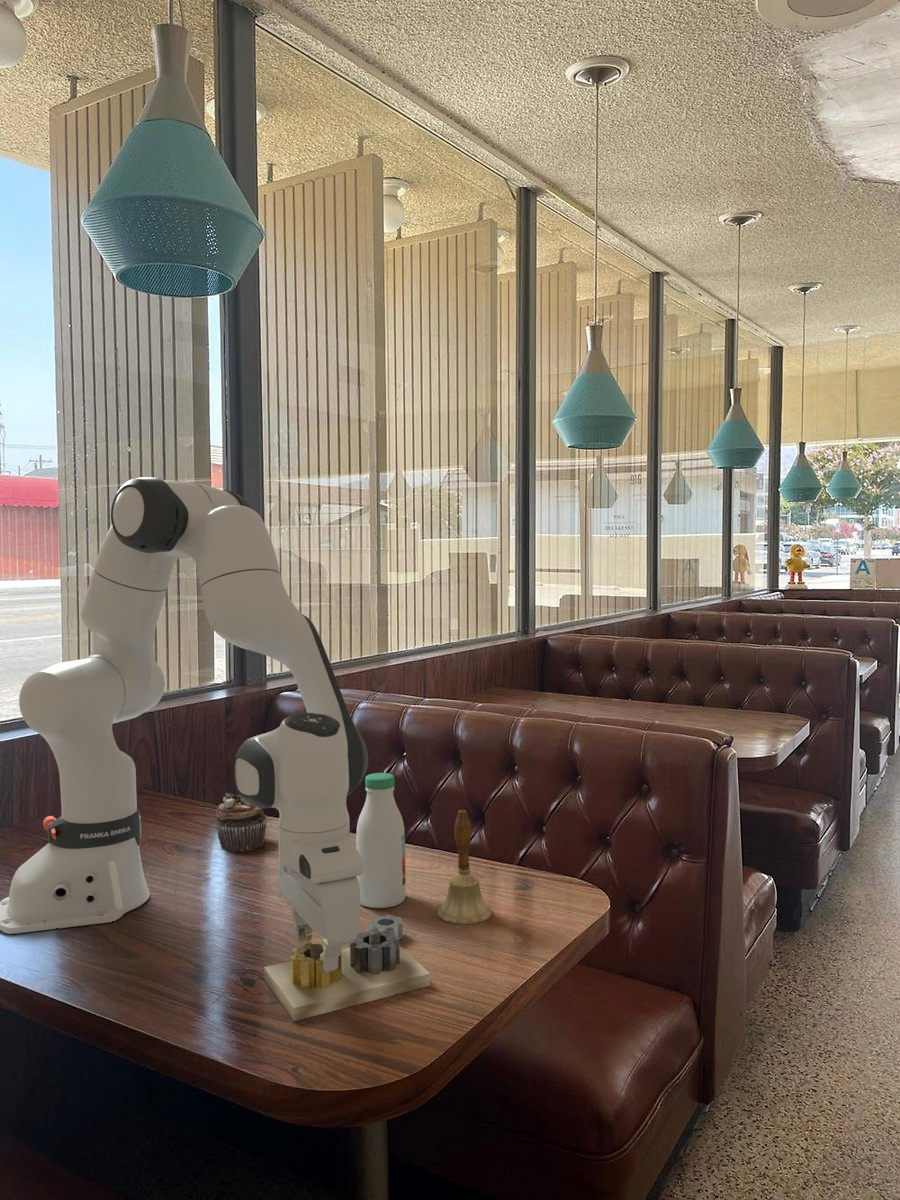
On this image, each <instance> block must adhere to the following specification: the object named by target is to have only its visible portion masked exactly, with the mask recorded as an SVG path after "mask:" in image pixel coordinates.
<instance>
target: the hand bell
mask: <svg viewBox="0 0 900 1200" xmlns="http://www.w3.org/2000/svg"><path fill="white" fill-rule="evenodd" d="M454 841H455V843H456V844H455V845H456V847H457V851H458V852H457V853H458V859H457V861H458V863H457V864H458V866H457V867H458V873H457V874H455V875H453V876H451V878H450V879H449V885H448V891H447V892H448V893H447V895H446V899H445V901H444V902H443V903H442V904H441V905H440V906H439V907H438V910H437V913H436V914H437V916H438V918H439V919H441V920H442V921H444V922H446V923H449V924H454V925H474V924H479V923H483V922H484V921H485V922H486V920H488V919H490V917H492V913H493V911H492V909H491V907H490V906H489V905H488V904H487V903H486V902H485V900H484V898H483V895H482V892H481V888H480V880H479V878H478V877H477V876H476V875H474V874H471V869H470V856H469V851H470V850H469V849H470V846H471V843H472V842H471V841H472V825H471V821H470V818H469V816H468V812H467V810H466V809H459V810H458V811H457V816H456V819H455V823H454Z"/></svg>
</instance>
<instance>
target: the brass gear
mask: <svg viewBox="0 0 900 1200" xmlns="http://www.w3.org/2000/svg"><path fill="white" fill-rule="evenodd" d="M313 944H320V945H322V953H323V947H324V945H323V944H322V942H318V943H315V942H314V943H313V942H312V941H309V942H306V943H305V942H304V943H303V945H302V946H299V947H294V948H293V949H292V950H291V951H290V955H291V956H289V957H290V958H289V959H290V969H291V983H292V984H293V985H295V984H299V985H301V988H302V989H308V990H309V989H310V988H311V987H312V988H314V987H315V986H316V987H320V988H321V989H323V988H327V987H329V984H330V983H333V982H339V981H340V980H341V973H342V958H341V950H340V952H339V955H338V968H337V969H336V970H333V971H328V972H326V971H325V970H324V969H323V968H322V966H321V965H320V962H321V960H320V957H319V958H311V948H310V947H311V945H313Z"/></svg>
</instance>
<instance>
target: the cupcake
mask: <svg viewBox="0 0 900 1200" xmlns="http://www.w3.org/2000/svg"><path fill="white" fill-rule="evenodd" d="M222 800H223V801H222V803H220V804H219V805H218V807H216V810H215V814H216V816H215V818H214V825H215V829H216V832H217V837H218V841H219V844H220V847H221V849H222V850H223V849H224V851H226V852H234V851H239V852H246V850H249V851H252V850H251V849H253V850H256V849H255V848H257V849H259V848H261V847H262V846H263V844H264V843H265V834H266V829H267V823H268V817H267V815H266V814H265V813H264V811H263V809H264V808H257V807H254V806H252V805H250V804H249V803H247V802H246V801H245V800H244V799H243V798H242V797H241V796H240V795H239V794H238V793H234V794H233V793H230V792H225V793H224V796H223V799H222ZM261 845H262V846H261ZM260 846H261V847H260ZM258 847H259V848H258Z"/></svg>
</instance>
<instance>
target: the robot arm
mask: <svg viewBox="0 0 900 1200" xmlns="http://www.w3.org/2000/svg"><path fill="white" fill-rule="evenodd" d="M110 521H111V524H110V527H109V529H108V530H107V533H106V535H105V536H104V539H103V541H102V544H101V547H100V549H99V551H98V554H97V557H96V560H95V562H94V566H93V570H92V573H91V577H90V580H89V583H88V586H87V590H86V593H85V597H84V599H83V604H82V607H81V611H80V615H81V620H82V622H83V624H84V625H85V626H86V628H87V629H88V630H89V631H90V632H91V633H92V638H93V639H92V640H93V641H92V642H93V643H92V650H91V652H90V654H89V655H88V657H86V658H81V659H74V660H68V661H61V662H57V663H55V664H52V665H50V666H48V667H44V668H43V669H40V670H39V671H36V672H34V673H32V674H31V675H29V676H28V677H27V678H26V679H25V681H24V682H23V684H22V686H21V689H20V693H19V699H18V703H19V704H18V705H19V711H20V714H21V716H22V718H23V720H24V722H25V723H26V725H27V726H28V727H29V729H31V730H32V731H33V732H35V733H37V734H39V735H40V736H41V737H42V738H43V739H44V740H45V741H46V743H47V744H48V747H50V749H51V751H52V754H53V755H54V759H55V762H56V764H57V768H58V774H59V775H58V776H59V783H60V803H61V816H59V817H57V818H55V816H53V815H49V816H46V817H45V818H44V819H43V822H42V824H43V828H44V830H45V831H47V839H48V843H47V844H45V845H44V846H43V847H42V848H41V849H40V850H38V851H37V852H36V853H35V854H34V855H32V856H31V857H30V858H29V859H28V860H26V861H25V862H23V863H22V864H21V865H20V866H19V867H18V868H17V869H16V871H15V873H14V875H13V877H12V880H11V884H10V886H9V887H10V888H9V892H8V893H9V895H8V896H6V897H5V898H3V899H1V901H0V930H2V931H3V933H5V934H10V935H11V934H23V933H30V932H39V931H46V930H54V929H56V928H57V929H64V928H65V929H66V928H72V927H79V926H80V927H81V926H82V927H83V926H89V925H90V926H91V925H97V924H107V923H112V921H113V922H115V921H117V920H119V919H120V918H122V917H123V916H124V914H126V913H128V912H130V911H132V910H134V909H136V908H139V907H140V906H142V905H143V904H144V903H145V902H147V900H149V899H150V896H151V893H150V890H149V887H148V885H147V884H148V883H147V881H146V878H145V874H144V870H143V864H142V858H141V853H140V845H141V839H142V825H141V824H142V822H141V815H140V810H139V809H138V807H137V805H138V804H137V803H138V802H137V774H136V773H137V771H136V764H135V761H134V760H133V758H132V757H131V756H130V755H129V754H127V753H126V752H124V751H122V750H120V748H119V747H118V745H117V743H116V739H115V736H114V733H113V732H114V731H113V724H118V723H120V722H124V721H129V720H131V719H132V720H133V719H135V718H137V717H139V716H141V715H142V714H144V713H147V712H148V711H149V710H151V709H153V708H154V707H155V706H157V705H158V703H159V702H160V701H161V699H162V697H163V695H164V692H165V687H166V686H165V685H166V684H165V682H166V681H165V676H164V673H163V672H164V671H163V670H162V668H161V667H160V665H159V663H158V662H157V661H156V660H155V653H154V648H155V646H154V643H155V642H154V641H155V639H154V638H155V633H156V629H157V628H156V627H157V623H158V619H159V617H160V614H161V610H162V606H163V603H164V599H165V596H166V593H167V590H168V587H169V583H170V579H171V575H172V572H173V568H174V566H175V564H176V562H177V561H178V560H179V559H189V558H190V559H193V560H194V562H195V565H196V568H197V576H198V583H199V590H200V595H201V601H202V606H203V610H204V613H205V616H206V618H207V619H206V620H207V622H208V624H209V626H210V627H211V629H212V630H213V631H214V632H215V633H216V634H217V635H218V636H219V637H220V638H222V639H224V640H225V641H226V642H228V643H230V644H231V645H234V646H236V647H239V648H241V649H243V650H248V651H251V652H254V653H258V654H262V655H264V656H266V657H269V658H271V659H274V660H276V661H277V662H279V663H280V664H282V665H283V666H285V667H286V668H287V669H288V671H290V672H291V674H292V675H293V677H294V680H295V682H296V684H297V688H298V690H299V691H298V692H299V693H300V696H301V699H302V702H303V704H304V707H305V709H306V711H307V712H299V713H294V714H292V715H289V716H287V717H286V718H284V719H283V720H282V721H281V722H280V725H279V727H277V728H275V729H274V730H271V731H267V732H266V733H261V734H256V735H255V736H252V737H248V738H247V739H246V740H245V741H243V743H242V744H241V745H240V747H239V748H238V749H237V752H236V754H235V757H234V759H233V765H232V774H233V784H234V788H235V791H236V794H239V795H240V796H241V797H242V798H243V799H244V800H245V801H246V802H247V803H249V804H250V805H252V806H254V807H257V808H262V809H270V808H273V809H276V810H277V811H278V812H279V818H278V824H277V825H278V829H277V831H278V833H277V834H278V838H277V839H278V867H277V868H278V871H277V872H278V874H277V879H278V880H277V883H278V884H277V885H278V890H279V894H280V896H281V897H283V899H284V900H285V901H286V902H287V903H288V904H289V906H290V909H291V910H290V911H291V915H292V919H293V922H294V927H295V928H294V930H295V932H294V933H295V934H294V935H295V938H296V939H298V940H299V942H301V943H305V942H308V941H309V942H310V941H311V939H312V937H313V934H312V933H313V932H314V933H315V934H316V935H317V936H318V937H320V939H321V943H322V944H323V945H324V947H323V953H320V960H321V962H320V965H321V966H322V968H323V969H324V970H325V971H326V972H328V971H333V970H336V969H337V968H338V955H339V952H340V950H341V949H342V947H343V946H345V945H346V946H347V945H350V943H353V942H355V940H356V938H357V936H358V934H359V932H360V926H361V925H360V924H361V923H360V920H361V904H360V885H359V881H358V878H357V876H358V875H362V874H363V860H362V857H361V856H360V854H359V852H358V851H357V849H356V845H355V843H354V840H353V836H352V835H353V834H352V833H351V832H350V831H351V830H350V829H351V827H350V824H351V823H350V815H349V811H348V807H347V796H349V795H351V794H353V793H354V792H356V790H357V788H359V786H360V784H361V782H362V781H363V779H364V777H365V775H366V772H367V769H368V767H369V753H368V749H367V746H366V743H365V741H364V738H363V737H362V735H361V733H360V731H359V729H358V728H357V726H356V725H355V723H354V721H353V719H352V717H351V715H350V713H349V709H348V707H347V705H346V702H345V699H344V697H343V694H342V691H341V688H340V686H339V684H338V681H337V677H336V676H335V673H334V670H333V668H332V665H331V662H330V659H329V657H328V655H327V651H326V649H325V647H324V645H323V641H322V639H321V638H320V637H321V636H320V635H319V633H318V630H317V629H316V626H315V625H314V622H313V621H312V620H311V619H310V618H309V617H308V616H306V615H305V614H303V613H301V611H299V609H298V608H297V607H296V606H295V604H294V602H293V601H292V600H291V598H290V596H289V595H288V593H287V590H286V588H285V585H284V583H283V580H282V575H281V571H280V567H279V562H278V559H277V554H276V551H275V549H274V545H273V543H272V540H271V537H270V534H269V532H268V529H267V527H266V525H265V522H264V521H263V519H262V516H260V514H259V513H258V512H257V511H255V509H254V507H253V505H252V504H251V502H249V500H248V499H246V498H245V497H243V496H242V495H240V494H237V493H235V492H234V491H231V490H227V489H219V488H216V487H213V486H211V485H206V484H203V483H200V482H193V481H190V482H189V481H187V482H186V481H179V480H170V479H169V480H167V479H161V478H160V477H154V476H152V477H150V476H149V477H148V476H146V477H145V476H144V477H135V478H132V479H129V480H128V481H126V482H125V483H123V484H122V486H120V488H119V489H118V490H117V492H116V494H115V496H114V498H113V501H112V504H111V509H110ZM2 931H1V932H2Z"/></svg>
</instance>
